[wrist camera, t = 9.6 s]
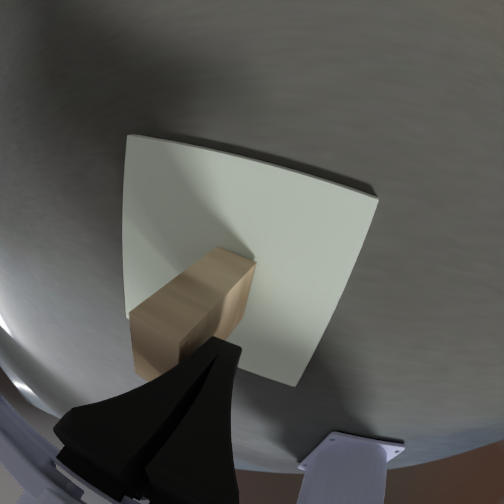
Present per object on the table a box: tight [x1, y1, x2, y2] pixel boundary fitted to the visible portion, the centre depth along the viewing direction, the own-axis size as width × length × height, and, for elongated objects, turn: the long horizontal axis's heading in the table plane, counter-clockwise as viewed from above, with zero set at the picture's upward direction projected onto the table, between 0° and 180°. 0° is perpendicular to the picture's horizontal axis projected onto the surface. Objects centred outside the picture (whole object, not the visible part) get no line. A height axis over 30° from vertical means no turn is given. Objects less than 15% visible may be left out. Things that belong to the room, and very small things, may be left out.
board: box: [122, 134, 379, 387], centre depth 17 cm, size 14×14×1 cm
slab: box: [129, 246, 257, 382], centre depth 14 cm, size 4×2×7 cm, turn 168°
